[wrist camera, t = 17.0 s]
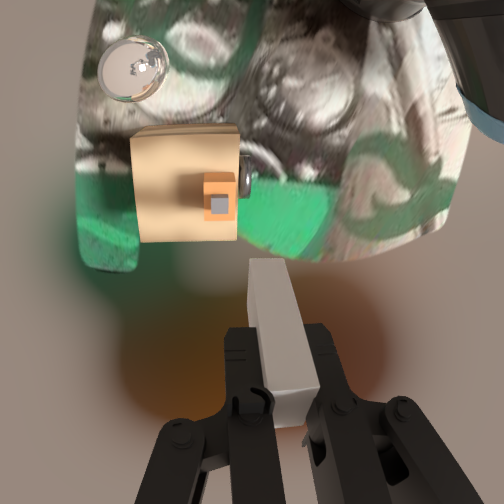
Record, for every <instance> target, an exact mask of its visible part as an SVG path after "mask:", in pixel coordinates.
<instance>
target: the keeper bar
mask: <svg viewBox="0 0 504 504" xmlns="http://www.w3.org/2000/svg"><path fill="white" fill-rule="evenodd" d="M203 183H204V221H235V199H236V180H235V175H234V173H204V182H203Z"/></svg>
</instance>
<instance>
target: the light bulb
mask: <svg viewBox="0 0 504 504" xmlns="http://www.w3.org/2000/svg"><path fill="white" fill-rule="evenodd" d="M168 73H169V58H168V54H167V52H166V50H165V48H164V47H163V46H162V45H161V43H159V42H158V41H157V40H155V39H153V38H151V37H149V36H144V35H131V36H126V37H124V38H121V39H119V40H117V41H116V42H114V43H113V44H111V45H110V46H109V47H108V48H107V49H106V51H105V52H104V53H103V55H102V57H101V58H100V61H99V64H98V69H97V78H98V82H99V85H100V87H101V89H102V90H103V91H104V92H105V94H106V95H107V96H109V97H110V98H111V99H113V100H115V101H118V102H122V103H136V102H140V101H143V100H146V99H147V98H149V97H151V96H152V95H154V94H155V93H156V92H157V91H158V90H159V89H160V88H161V87H162V86H163V84H164V82H165V81H166V79H167V76H168Z"/></svg>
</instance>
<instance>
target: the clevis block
mask: <svg viewBox="0 0 504 504" xmlns="http://www.w3.org/2000/svg"><path fill="white" fill-rule="evenodd" d="M239 145H240V133H239V131H238V129H237V127H236V124H235V123H208V124H175V125H157V126H146V127H144V128H143V129H142V130H140V131H139V132H138V133H136V134H135V135H134V136H132V137H131V138H130V147H131V161H132V172H133V183H134V192H135V201H136V209H137V217H138V225H139V232H140V239H141V242H174V241H175V242H176V241H224V240H237V206H238V173H239ZM204 173H234V175H235V180H236V199H235V221H204V183H203V182H204Z"/></svg>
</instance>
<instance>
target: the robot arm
mask: <svg viewBox="0 0 504 504" xmlns="http://www.w3.org/2000/svg"><path fill="white" fill-rule="evenodd" d="M340 1H341V2H342V3H343V4H344V5H345V6H346V7H348V8H349V9H350V10H352V11H354V12H355V13H357V14H359V15H361V16H363V17H365V18H367V19H370V20H373V21H377V22H383V23H393V22H399V21H404V20H408V19H410V18H412V17H414V16H416V15H417V14H419V13H420V12H421V11H422V9H423V8H424V7H426V6H427V8H428V10H429V12H430V14H431V16H432V19H433V21H434V23H435V26H436V28H437V30H438V33H439V35H440V37H441V40H442V42H443V45H444V48H445V50H446V53H447V56H448V58H449V61H450V64H451V67H452V70H453V73H454V76H455V80H456V87H457V90H458V92H459V94H460V95H461V97H462V100H463V103H464V106H465V110H466V113H467V115H468V117H469V119H470V121H471V122H472V123H473V124H474V125H475V126H476V127H477V128H478V129H479V131H480V132H482V133H483V134H484V135H486V136H487V137H489V138H491V139H493V140H495V141H497V142H499V143H502V144H504V0H340ZM247 309H248V318H249V327H241V328H229V329H228V332H227V334H226V335H225V337H224V354H225V355H224V356H225V385H226V386H225V387H226V401H225V404H224V406H223V407H222V409H221V410H220V411H219V412H218V413H216V414H215V415H213V416H211V417H208V418H205V419H201V420H198V421H195V422H194V421H192V420H189V419H184V418H178V419H174V420H170V421H169V422H167V423H166V424H165V425H164V426H163V428H162V429H161V430H160V432H159V435H158V438H157V440H156V443H155V446H154V449H153V452H152V454H151V457H150V460H149V463H148V466H147V469H146V472H145V474H144V477H143V480H142V483H141V486H140V489H139V492H138V494H137V497H136V500H135V503H134V504H201V502H202V498H203V494H204V490H205V487H206V482H207V479H208V475H209V471H212V470H215V469H218V468H221V467H224V466H227V465H230V477H231V478H230V479H231V491H232V492H231V493H232V504H286V501H285V494H284V488H283V482H282V474H281V468H280V461H279V454H278V449H277V441H276V436H275V428H281V427H291V426H300V425H303V424H304V422H305V420H306V422H307V427H308V431H307V433H306V435H305V437H304V439H303V441H302V447H305V446H306V444H307V447H308V452H309V457H310V463H311V468H312V473H313V479H314V484H315V489H316V494H317V500H318V504H484V503H483V501H482V500H481V498H480V497H479V495H478V493H477V492H476V490H475V489H474V487H473V485H472V484H471V482H470V481H469V479H468V478H467V476H466V475H465V473H464V472H463V470H462V469H461V467H460V466H459V464H458V463H457V461H456V460H455V458H454V457H453V455H452V454H451V452H450V451H449V449H448V448H447V446H446V445H445V443H444V442H443V440H442V439H441V438H440V436H439V435H438V433H437V432H436V430H435V429H434V427H433V426H432V425H431V423H430V422H429V420H428V419H427V418H426V416H425V415H424V413H423V412H422V411H421V409H420V408H419V406H418V405H417V404H416V403H415V402H414V401H413V400H412V399H410V398H408V397H406V396H397V397H394V398H392V399H391V400H390V401H388V403H380V402H372V401H367V400H363V399H361V398H359V397H358V396H357V395H356V394H354V393H353V392H352V391H351V390H350V387H349V385H348V383H347V380H346V377H345V374H344V371H343V368H342V365H341V362H340V359H339V356H338V354H337V350H336V347H335V346H334V342H333V339H332V336H331V333H330V332H329V331H328V329H327V328H326V327H325V326H324V325H323V324H322V323H317V324H303V323H302V319H301V316H300V312H299V309H298V305H297V302H296V298H295V295H294V291H293V288H292V285H291V281H290V278H289V275H288V271H287V268H286V264H285V261H284V258H256V259H255V258H251V259H250V262H249V279H248V298H247Z"/></svg>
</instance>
